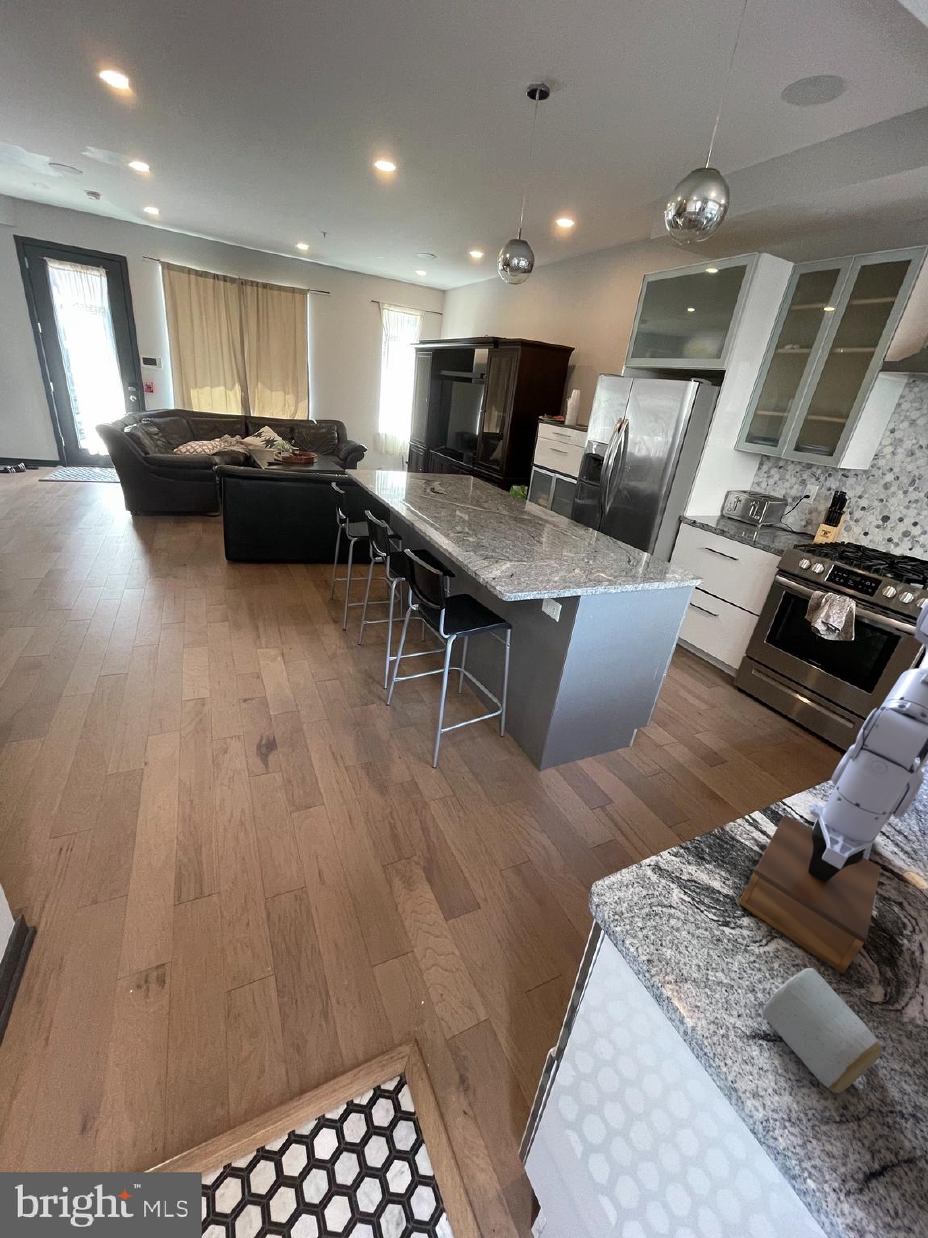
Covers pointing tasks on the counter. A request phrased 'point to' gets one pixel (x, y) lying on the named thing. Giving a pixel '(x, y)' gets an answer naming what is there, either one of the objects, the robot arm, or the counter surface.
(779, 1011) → the ceramic mug
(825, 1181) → the counter surface
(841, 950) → the box
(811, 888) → the lid
